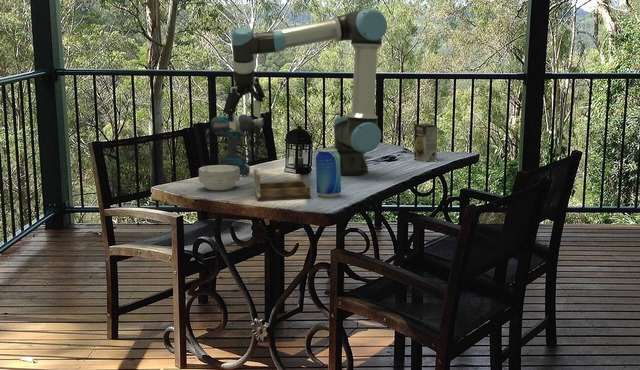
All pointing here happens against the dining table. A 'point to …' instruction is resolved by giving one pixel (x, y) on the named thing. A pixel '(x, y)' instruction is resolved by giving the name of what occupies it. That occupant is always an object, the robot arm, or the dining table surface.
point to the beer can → (328, 173)
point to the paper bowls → (219, 176)
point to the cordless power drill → (235, 137)
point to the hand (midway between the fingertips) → (245, 122)
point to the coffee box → (425, 142)
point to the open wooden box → (280, 189)
